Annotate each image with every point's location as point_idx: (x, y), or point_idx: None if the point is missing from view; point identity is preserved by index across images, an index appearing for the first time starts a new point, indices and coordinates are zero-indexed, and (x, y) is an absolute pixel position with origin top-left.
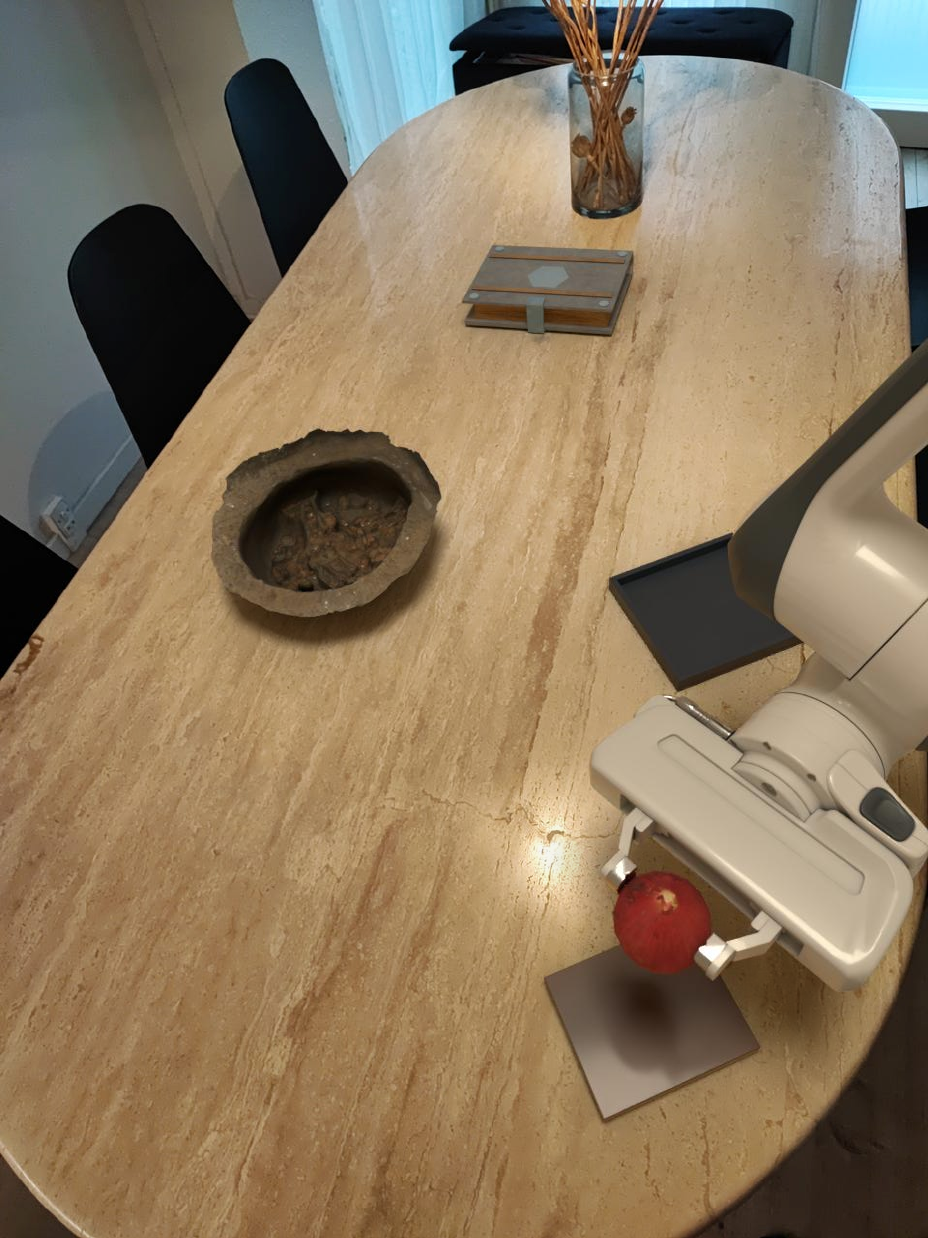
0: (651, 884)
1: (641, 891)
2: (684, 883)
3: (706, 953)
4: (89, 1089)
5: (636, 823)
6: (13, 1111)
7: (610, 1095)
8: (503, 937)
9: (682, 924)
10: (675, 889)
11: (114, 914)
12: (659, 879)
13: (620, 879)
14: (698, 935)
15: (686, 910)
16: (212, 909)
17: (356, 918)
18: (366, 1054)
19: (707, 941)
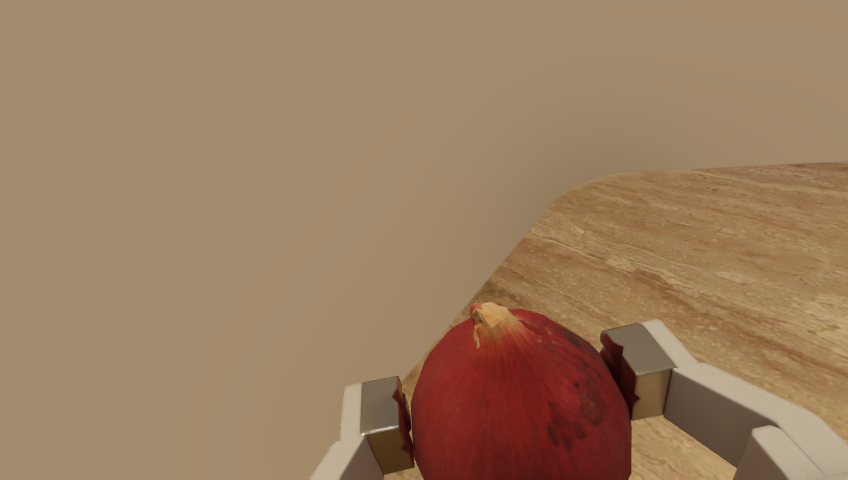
0: (561, 344)
1: (557, 328)
2: (537, 437)
3: (380, 388)
4: (637, 193)
5: (791, 434)
6: (637, 172)
7: None
8: (689, 461)
9: (447, 359)
10: (519, 374)
11: (782, 201)
12: (568, 370)
13: (614, 332)
14: (421, 405)
15: (464, 376)
16: (779, 245)
17: (750, 333)
18: (598, 307)
19: (395, 404)
